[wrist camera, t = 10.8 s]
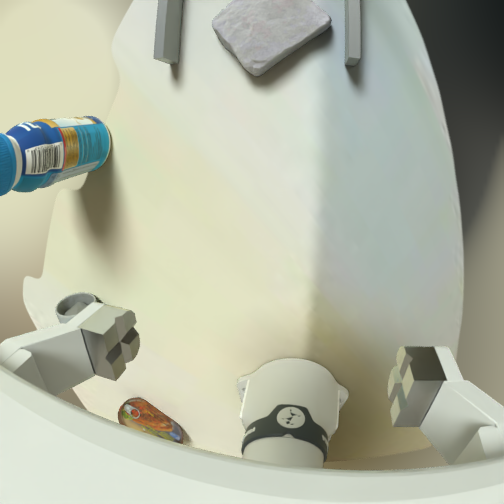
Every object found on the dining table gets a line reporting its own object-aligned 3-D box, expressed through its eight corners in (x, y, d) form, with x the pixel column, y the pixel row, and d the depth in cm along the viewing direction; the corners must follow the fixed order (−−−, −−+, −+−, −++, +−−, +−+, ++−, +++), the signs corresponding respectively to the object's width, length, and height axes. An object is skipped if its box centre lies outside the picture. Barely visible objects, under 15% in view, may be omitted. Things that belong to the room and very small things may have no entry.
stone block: (213, 36, 34) (259, 85, 34) (197, 21, 29) (247, 72, 29) (285, -15, 30) (337, 31, 30) (277, -35, 25) (336, 12, 25)
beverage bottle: (91, 183, 42) (-13, 226, 24) (62, 145, 41) (-43, 172, 23) (123, 142, 39) (9, 167, 21) (91, 103, 38) (-22, 111, 19)
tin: (188, 430, 61) (176, 459, 53) (181, 433, 62) (168, 462, 54) (132, 389, 59) (114, 417, 51) (126, 394, 60) (109, 421, 52)
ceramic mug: (83, 327, 54) (61, 350, 47) (71, 289, 51) (46, 311, 44) (128, 335, 53) (107, 362, 46) (117, 295, 49) (93, 320, 42)
